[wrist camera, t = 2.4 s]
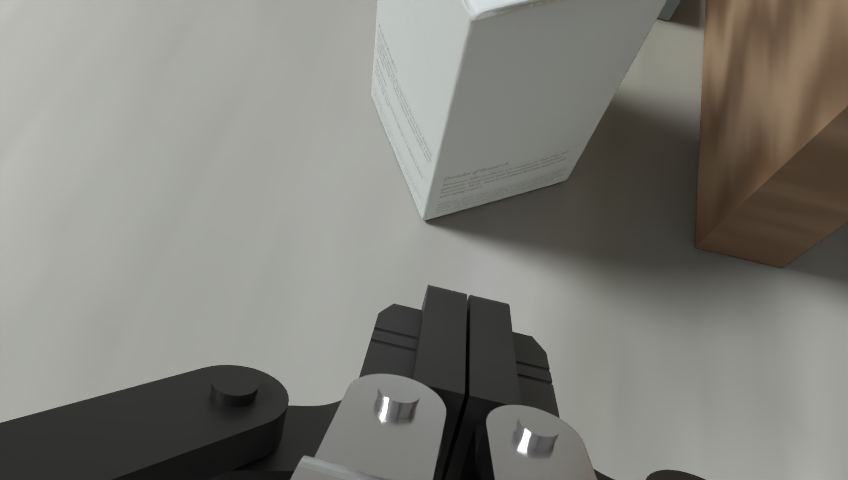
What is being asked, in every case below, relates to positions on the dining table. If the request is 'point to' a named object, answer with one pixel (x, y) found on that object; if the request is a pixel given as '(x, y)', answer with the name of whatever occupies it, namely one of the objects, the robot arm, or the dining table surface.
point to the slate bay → (668, 9)
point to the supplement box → (498, 90)
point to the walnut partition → (773, 127)
